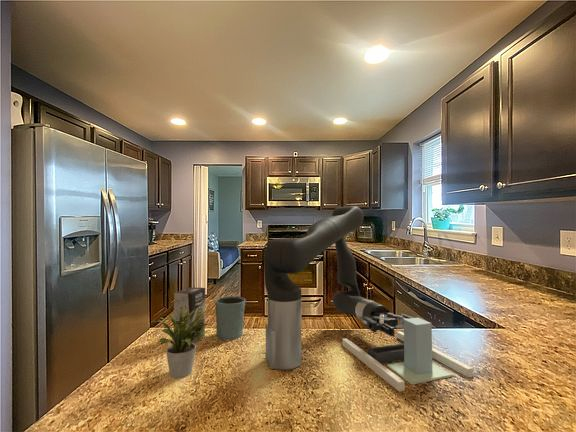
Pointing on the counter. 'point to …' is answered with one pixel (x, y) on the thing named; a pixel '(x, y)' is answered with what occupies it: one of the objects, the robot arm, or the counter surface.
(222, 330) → the teal cup
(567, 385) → the counter surface
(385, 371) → the lane rails
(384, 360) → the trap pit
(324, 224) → the robot arm
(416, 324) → the grey tall block
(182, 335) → the house plant
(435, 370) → the pad
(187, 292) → the coffee box
